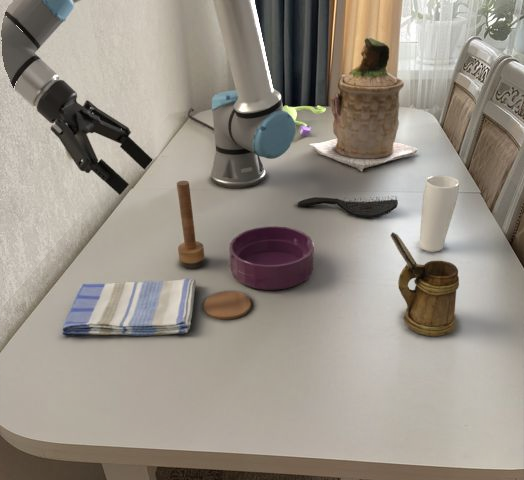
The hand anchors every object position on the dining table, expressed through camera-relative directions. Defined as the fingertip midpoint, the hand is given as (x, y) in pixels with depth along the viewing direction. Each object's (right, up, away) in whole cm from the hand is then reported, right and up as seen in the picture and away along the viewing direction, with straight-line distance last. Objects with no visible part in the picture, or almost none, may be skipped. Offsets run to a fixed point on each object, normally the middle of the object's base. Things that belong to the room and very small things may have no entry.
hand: (137, 176), depth 109 cm
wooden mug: (+53, -30, -9) cm, 61 cm away
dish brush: (+10, -16, +10) cm, 21 cm away
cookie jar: (+56, +27, +61) cm, 87 cm away
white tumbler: (+62, -12, +13) cm, 65 cm away
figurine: (+35, +44, +84) cm, 101 cm away
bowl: (+27, -18, +7) cm, 33 cm away
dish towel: (0, -27, -4) cm, 27 cm away
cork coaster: (+18, -26, -3) cm, 32 cm away
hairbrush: (+46, +1, +29) cm, 55 cm away
